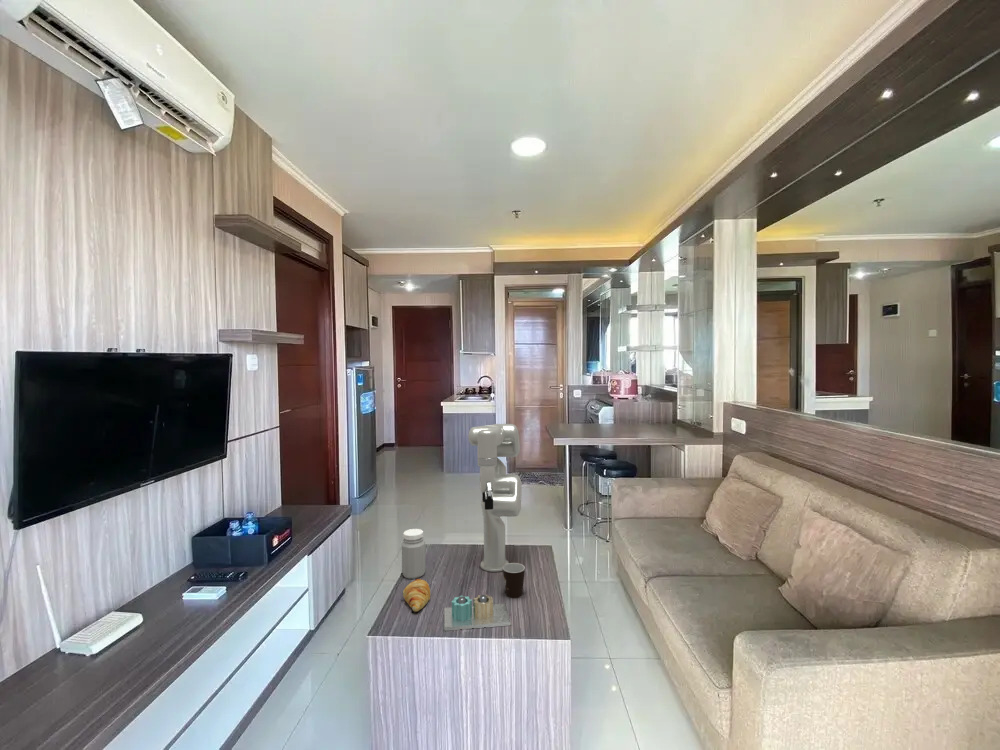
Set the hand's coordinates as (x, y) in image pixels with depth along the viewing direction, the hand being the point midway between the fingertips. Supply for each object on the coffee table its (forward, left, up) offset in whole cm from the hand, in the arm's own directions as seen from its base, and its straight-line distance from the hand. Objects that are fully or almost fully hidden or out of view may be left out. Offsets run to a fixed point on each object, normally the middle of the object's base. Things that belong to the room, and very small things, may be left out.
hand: (487, 505), depth 166 cm
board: (+18, -6, -33) cm, 38 cm away
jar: (-19, -30, -34) cm, 49 cm away
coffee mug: (+2, +10, -34) cm, 35 cm away
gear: (+18, -11, -32) cm, 38 cm away
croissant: (+2, -27, -34) cm, 43 cm away
